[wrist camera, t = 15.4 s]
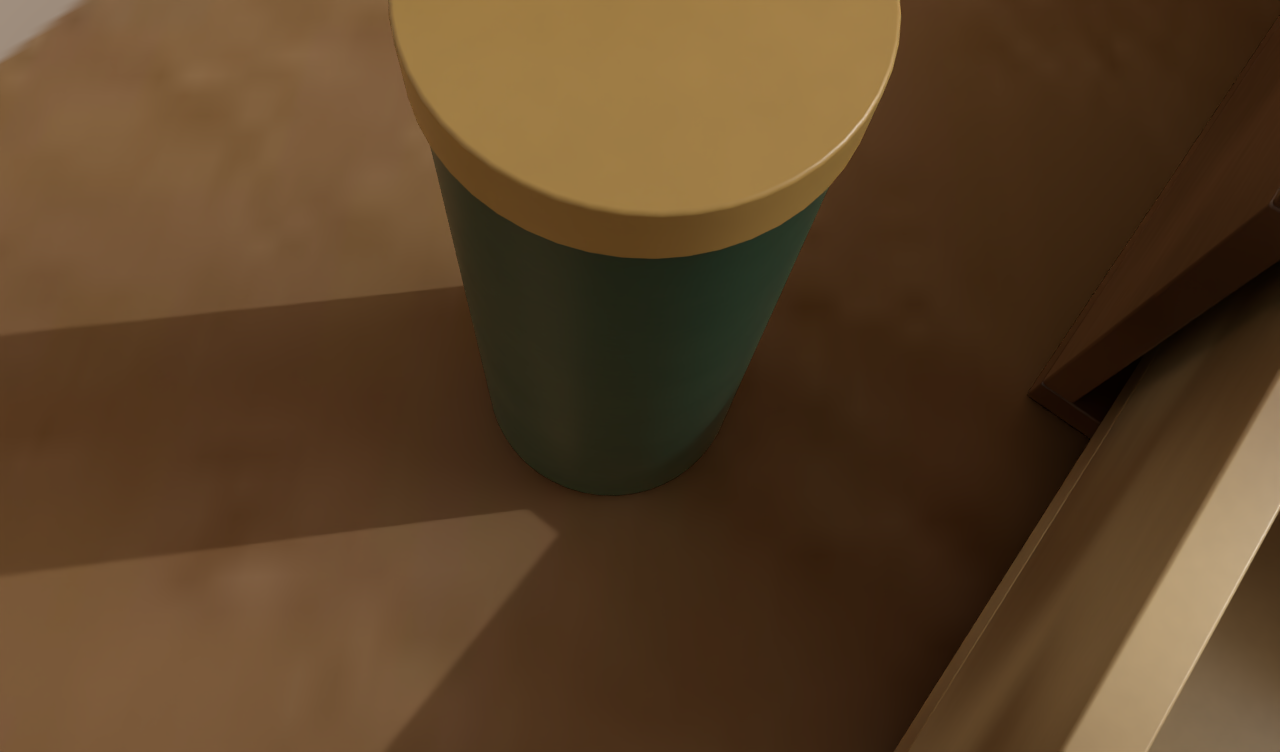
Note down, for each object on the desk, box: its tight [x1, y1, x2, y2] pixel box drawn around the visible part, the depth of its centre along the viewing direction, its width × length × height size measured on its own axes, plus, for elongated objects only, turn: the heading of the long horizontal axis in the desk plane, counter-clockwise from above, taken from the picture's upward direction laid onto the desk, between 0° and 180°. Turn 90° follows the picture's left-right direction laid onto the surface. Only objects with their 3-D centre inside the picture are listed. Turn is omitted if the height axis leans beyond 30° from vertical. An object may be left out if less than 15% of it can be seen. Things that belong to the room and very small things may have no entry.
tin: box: [388, 0, 901, 495], centre depth 15 cm, size 5×5×11 cm
